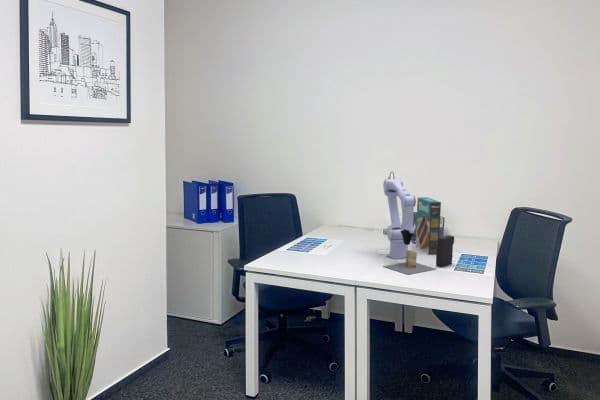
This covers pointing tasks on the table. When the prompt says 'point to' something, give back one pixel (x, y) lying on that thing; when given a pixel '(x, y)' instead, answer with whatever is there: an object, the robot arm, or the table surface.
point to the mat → (404, 269)
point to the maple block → (411, 258)
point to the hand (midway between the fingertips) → (406, 244)
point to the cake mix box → (428, 224)
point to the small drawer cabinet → (444, 250)
